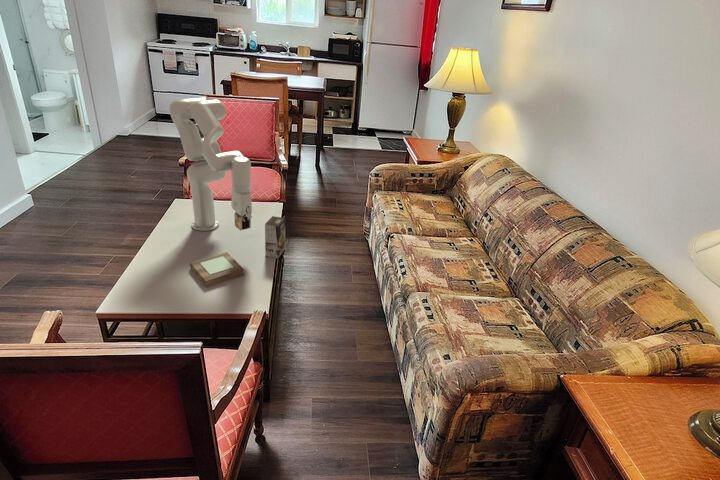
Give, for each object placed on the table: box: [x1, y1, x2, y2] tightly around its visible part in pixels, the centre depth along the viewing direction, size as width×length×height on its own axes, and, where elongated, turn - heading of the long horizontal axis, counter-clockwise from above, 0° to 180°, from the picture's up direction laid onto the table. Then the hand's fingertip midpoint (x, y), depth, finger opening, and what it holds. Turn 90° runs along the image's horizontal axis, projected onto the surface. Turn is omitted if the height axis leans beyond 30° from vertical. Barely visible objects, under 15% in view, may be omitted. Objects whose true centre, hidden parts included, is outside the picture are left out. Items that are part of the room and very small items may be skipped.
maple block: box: [233, 212, 252, 231], centre depth 184 cm, size 5×5×6 cm
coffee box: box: [264, 216, 286, 259], centre depth 191 cm, size 9×6×16 cm
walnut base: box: [189, 251, 245, 288], centre depth 176 cm, size 16×16×3 cm
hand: (242, 225), depth 185 cm, fingers closed on maple block, 5 cm apart
